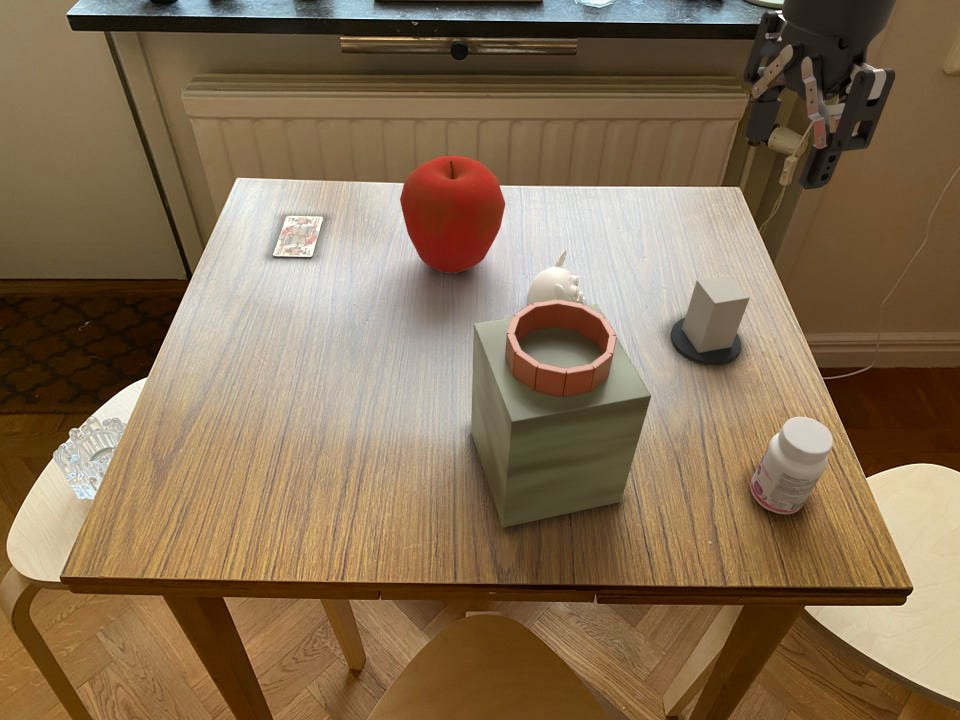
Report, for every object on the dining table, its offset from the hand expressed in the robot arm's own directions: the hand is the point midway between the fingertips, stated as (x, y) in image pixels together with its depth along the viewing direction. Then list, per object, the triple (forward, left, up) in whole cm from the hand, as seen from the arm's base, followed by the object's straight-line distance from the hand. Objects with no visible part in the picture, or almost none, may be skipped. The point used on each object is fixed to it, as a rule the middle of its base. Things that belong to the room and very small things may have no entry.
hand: (782, 161), depth 62 cm
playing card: (+32, +42, -23) cm, 57 cm away
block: (+2, 0, -22) cm, 22 cm away
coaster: (+2, 0, -23) cm, 23 cm away
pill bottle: (-19, +4, -23) cm, 30 cm away
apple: (+22, +24, -23) cm, 40 cm away
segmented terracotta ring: (-10, +23, -9) cm, 27 cm away
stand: (-10, +23, -23) cm, 34 cm away
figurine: (+10, +15, -23) cm, 29 cm away
